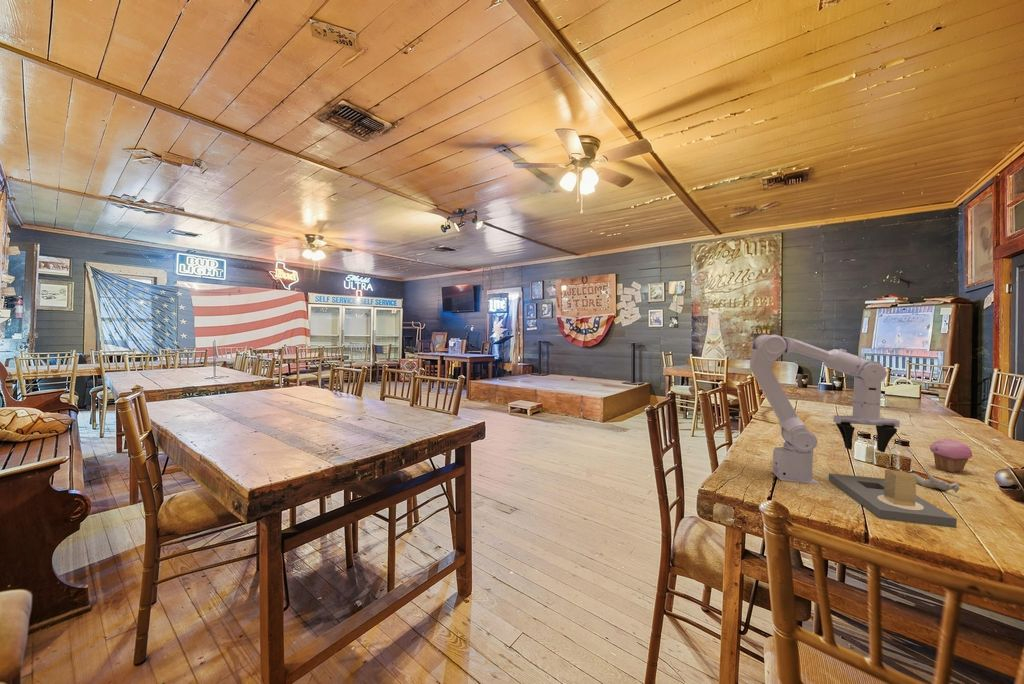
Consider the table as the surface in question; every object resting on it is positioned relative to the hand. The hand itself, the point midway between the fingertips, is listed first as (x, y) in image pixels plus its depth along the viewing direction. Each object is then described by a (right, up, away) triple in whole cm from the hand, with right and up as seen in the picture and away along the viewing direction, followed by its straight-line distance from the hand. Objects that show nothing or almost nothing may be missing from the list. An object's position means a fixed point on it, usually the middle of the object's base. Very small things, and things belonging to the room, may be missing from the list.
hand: (864, 449), depth 111 cm
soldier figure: (+17, -11, 0) cm, 21 cm away
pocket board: (-4, -11, -10) cm, 16 cm away
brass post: (-6, -8, -16) cm, 19 cm away
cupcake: (+39, -11, +13) cm, 43 cm away
